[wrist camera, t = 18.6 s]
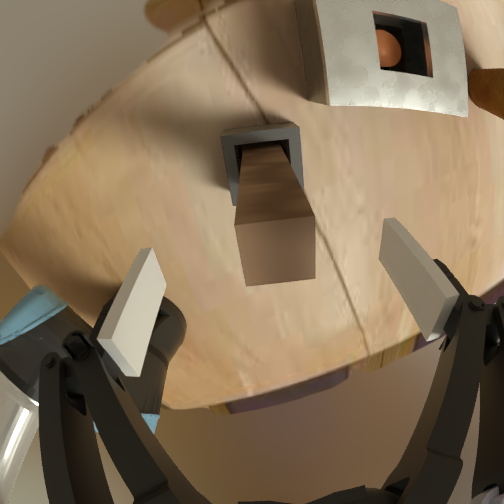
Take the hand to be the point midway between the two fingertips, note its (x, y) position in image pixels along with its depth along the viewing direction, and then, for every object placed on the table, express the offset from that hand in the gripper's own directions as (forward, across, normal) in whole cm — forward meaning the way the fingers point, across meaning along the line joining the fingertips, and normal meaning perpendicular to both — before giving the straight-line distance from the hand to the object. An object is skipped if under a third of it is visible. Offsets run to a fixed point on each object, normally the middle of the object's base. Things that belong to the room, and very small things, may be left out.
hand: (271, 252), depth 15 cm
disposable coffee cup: (+19, +35, +11) cm, 41 cm away
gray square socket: (+20, +1, 0) cm, 20 cm away
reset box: (+19, +15, +13) cm, 28 cm away
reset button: (+19, +15, +13) cm, 27 cm away
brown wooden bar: (+20, +1, 0) cm, 20 cm away
